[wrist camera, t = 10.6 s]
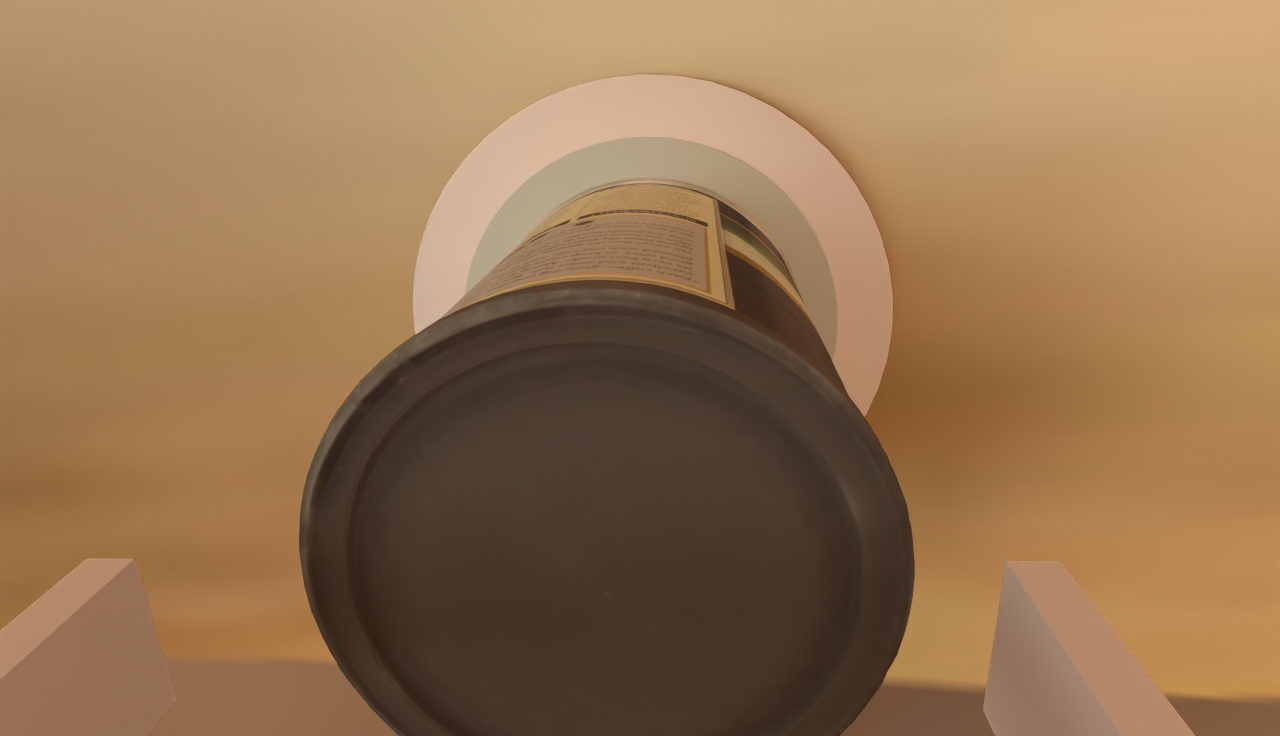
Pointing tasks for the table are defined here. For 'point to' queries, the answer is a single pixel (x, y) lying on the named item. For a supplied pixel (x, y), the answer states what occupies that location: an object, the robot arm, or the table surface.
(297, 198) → the table surface
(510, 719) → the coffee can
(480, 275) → the plate
